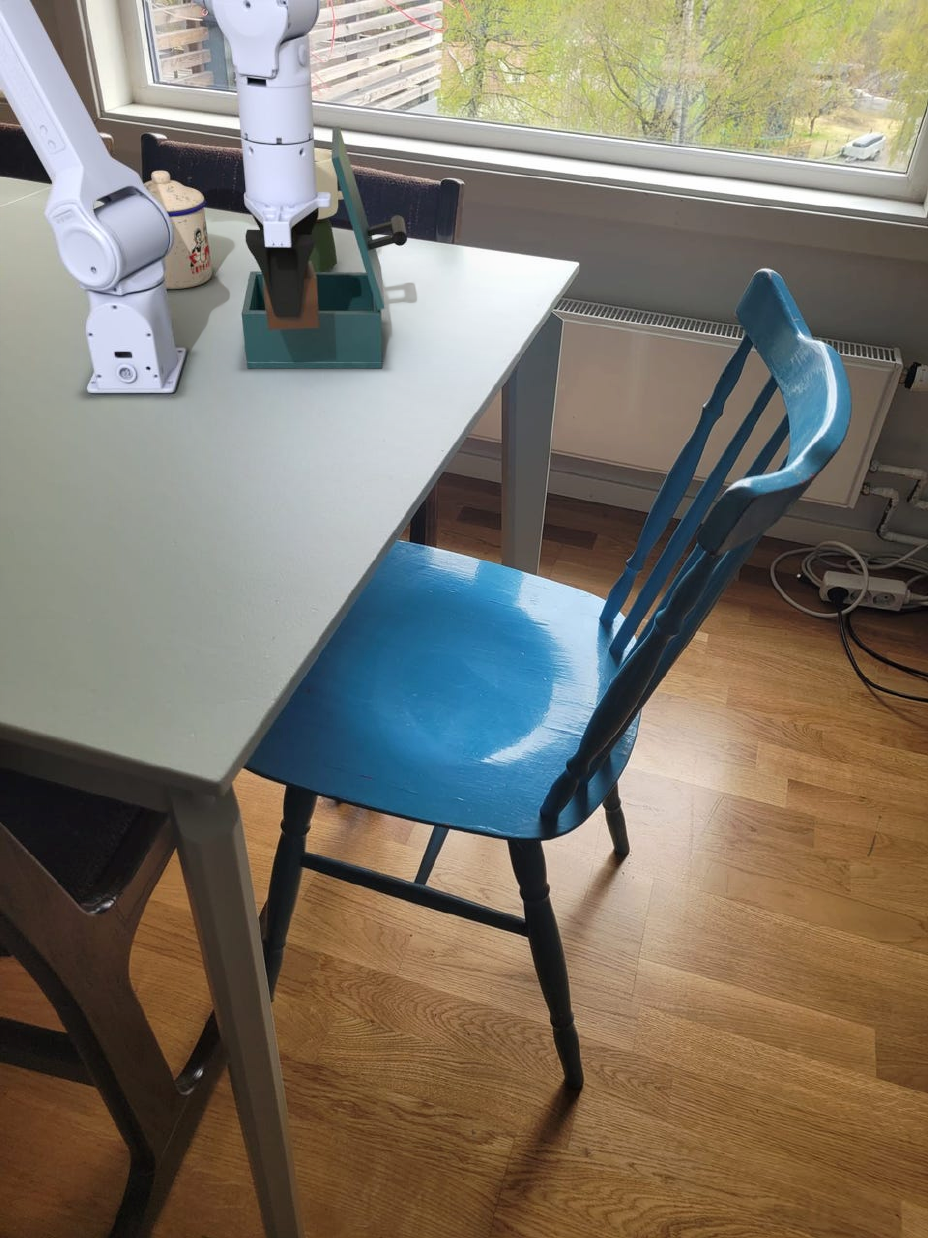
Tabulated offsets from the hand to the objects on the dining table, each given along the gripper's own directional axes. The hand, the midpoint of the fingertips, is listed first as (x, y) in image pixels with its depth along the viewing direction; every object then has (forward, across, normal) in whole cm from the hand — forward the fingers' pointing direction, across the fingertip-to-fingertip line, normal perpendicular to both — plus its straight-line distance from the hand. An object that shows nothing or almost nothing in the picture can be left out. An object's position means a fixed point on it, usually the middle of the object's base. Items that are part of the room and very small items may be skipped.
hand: (289, 304), depth 85 cm
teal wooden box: (+9, +13, -2) cm, 16 cm away
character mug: (+10, +36, 0) cm, 37 cm away
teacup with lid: (+10, +34, +16) cm, 38 cm away
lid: (-3, +13, -6) cm, 15 cm away
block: (+1, 0, 0) cm, 1 cm away
